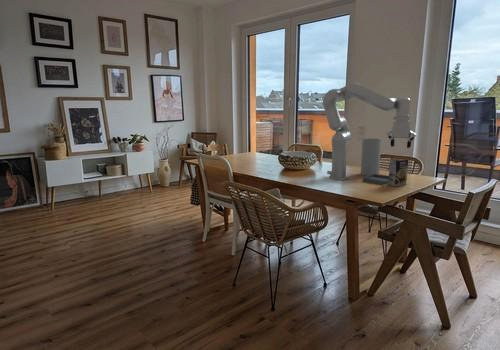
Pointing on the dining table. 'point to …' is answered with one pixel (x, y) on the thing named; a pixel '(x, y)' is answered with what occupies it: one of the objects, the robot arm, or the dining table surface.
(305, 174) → the dining table surface
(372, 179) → the tray
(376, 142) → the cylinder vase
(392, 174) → the coffee box
